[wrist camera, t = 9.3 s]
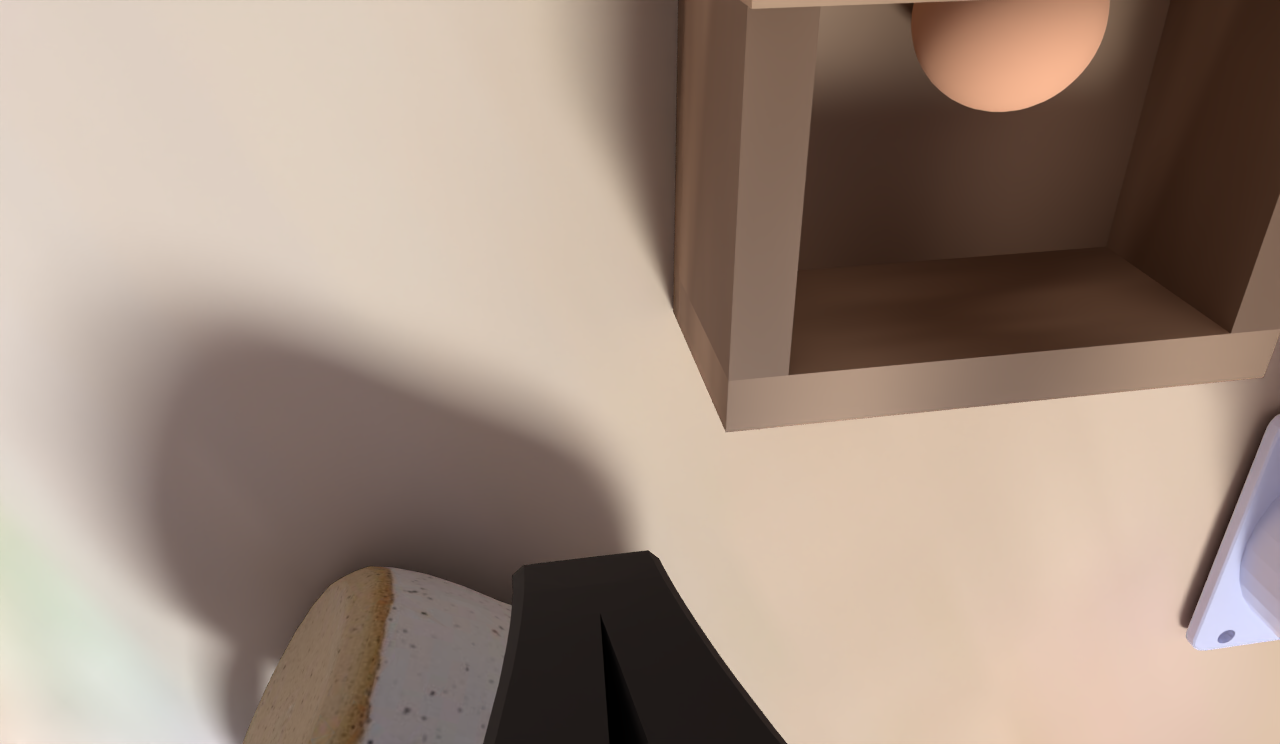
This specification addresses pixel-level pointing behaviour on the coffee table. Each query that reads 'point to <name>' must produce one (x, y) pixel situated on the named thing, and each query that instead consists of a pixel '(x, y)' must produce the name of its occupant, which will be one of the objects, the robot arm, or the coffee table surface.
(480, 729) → the ceramic mug
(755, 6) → the lid
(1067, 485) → the coffee table surface
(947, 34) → the ball
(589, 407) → the coffee table surface
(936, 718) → the coffee table surface
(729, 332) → the keepsake box
